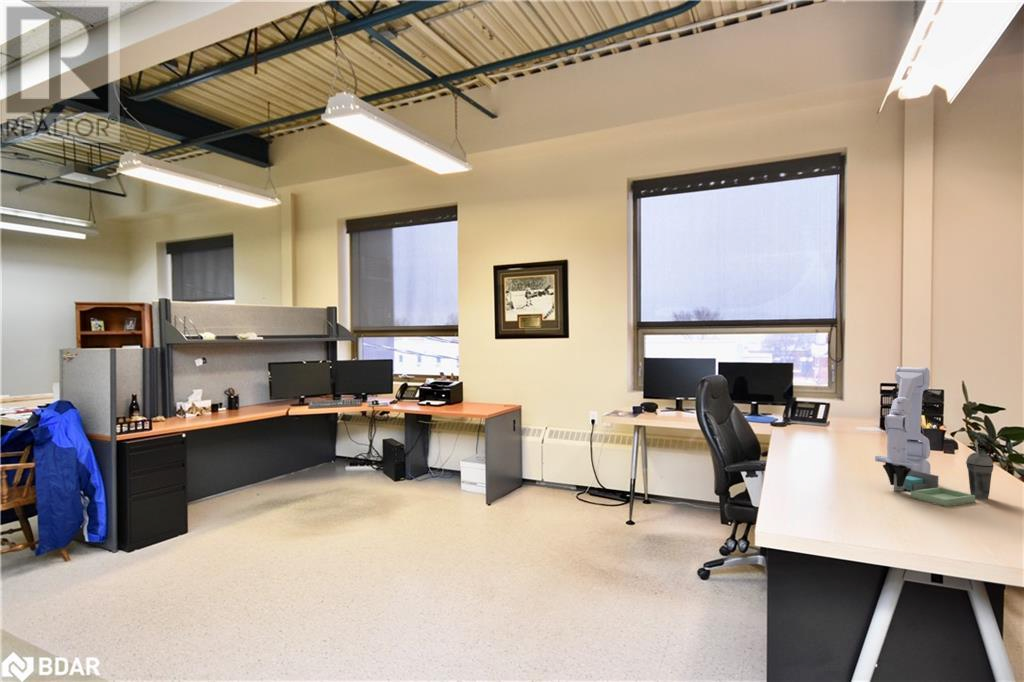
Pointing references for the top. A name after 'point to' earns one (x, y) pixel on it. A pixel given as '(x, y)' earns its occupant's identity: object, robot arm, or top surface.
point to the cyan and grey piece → (907, 483)
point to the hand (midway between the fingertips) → (896, 485)
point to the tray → (943, 496)
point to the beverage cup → (979, 473)
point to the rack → (924, 480)
